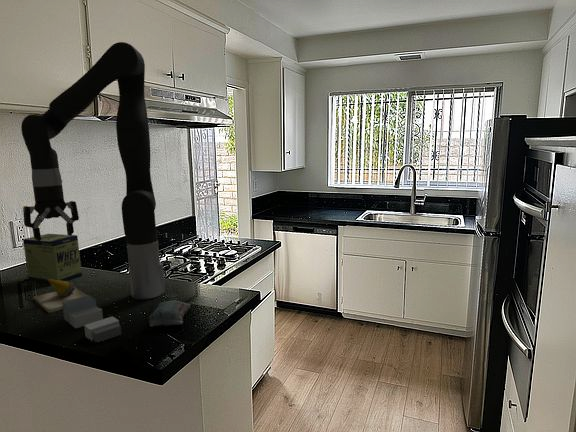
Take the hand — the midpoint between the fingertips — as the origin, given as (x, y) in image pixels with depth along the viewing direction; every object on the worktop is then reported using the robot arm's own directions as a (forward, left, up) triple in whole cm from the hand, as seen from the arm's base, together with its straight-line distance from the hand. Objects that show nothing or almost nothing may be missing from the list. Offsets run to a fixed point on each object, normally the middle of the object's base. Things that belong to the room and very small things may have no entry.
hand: (54, 237), depth 125 cm
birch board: (0, 0, -20) cm, 20 cm away
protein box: (-6, -28, -20) cm, 35 cm away
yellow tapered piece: (0, 0, -19) cm, 19 cm away
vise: (+1, +27, -20) cm, 34 cm away
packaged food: (-15, +41, -20) cm, 48 cm away
